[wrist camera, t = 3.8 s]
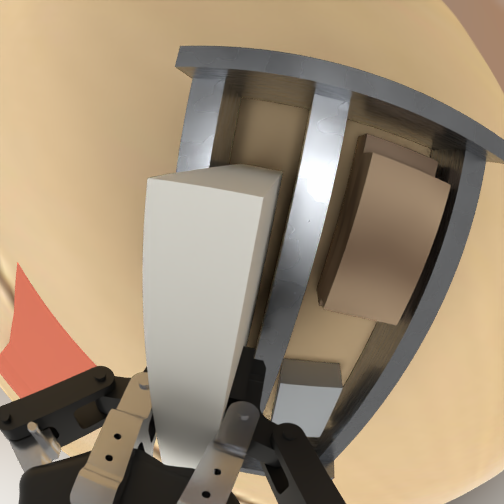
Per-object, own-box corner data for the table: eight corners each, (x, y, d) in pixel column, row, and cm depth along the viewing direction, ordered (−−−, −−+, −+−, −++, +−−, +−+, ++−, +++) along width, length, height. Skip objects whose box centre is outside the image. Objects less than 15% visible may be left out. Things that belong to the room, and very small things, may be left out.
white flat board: (241, 163, 16) (147, 178, 5) (283, 171, 15) (263, 197, 5) (209, 381, 22) (168, 486, 12) (236, 388, 22) (205, 498, 12)
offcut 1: (283, 356, 20) (280, 383, 17) (338, 361, 20) (342, 388, 17) (272, 408, 23) (268, 433, 20) (319, 412, 22) (319, 437, 19)
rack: (218, 80, 14) (180, 46, 8) (453, 143, 13) (511, 145, 7) (182, 404, 24) (161, 449, 18) (328, 434, 23) (329, 481, 17)
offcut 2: (356, 137, 14) (367, 133, 12) (420, 160, 14) (438, 161, 12) (316, 286, 18) (318, 305, 16) (375, 300, 18) (384, 318, 15)
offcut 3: (362, 152, 12) (372, 152, 11) (433, 180, 12) (450, 185, 10) (320, 291, 15) (323, 309, 13) (387, 307, 15) (396, 325, 13)
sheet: (76, 429, 34) (-9, 330, 30) (172, 388, 28) (38, 225, 24) (64, 448, 29) (-26, 343, 25) (158, 421, 23) (5, 236, 18)
